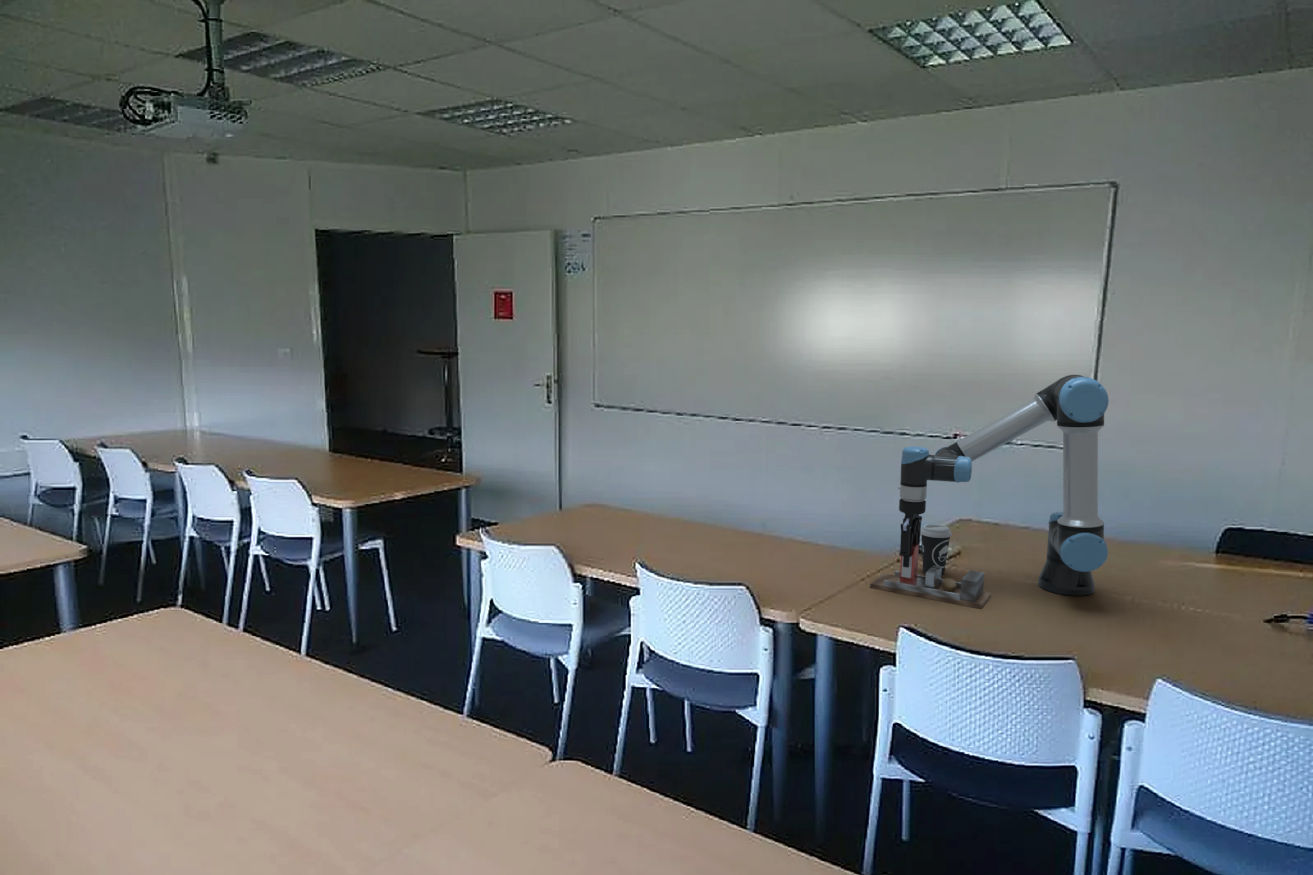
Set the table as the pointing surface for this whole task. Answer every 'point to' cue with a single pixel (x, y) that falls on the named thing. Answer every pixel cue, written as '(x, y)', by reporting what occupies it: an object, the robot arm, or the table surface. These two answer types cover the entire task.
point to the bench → (940, 589)
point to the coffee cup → (935, 546)
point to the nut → (949, 585)
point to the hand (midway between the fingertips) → (908, 574)
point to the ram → (931, 575)
